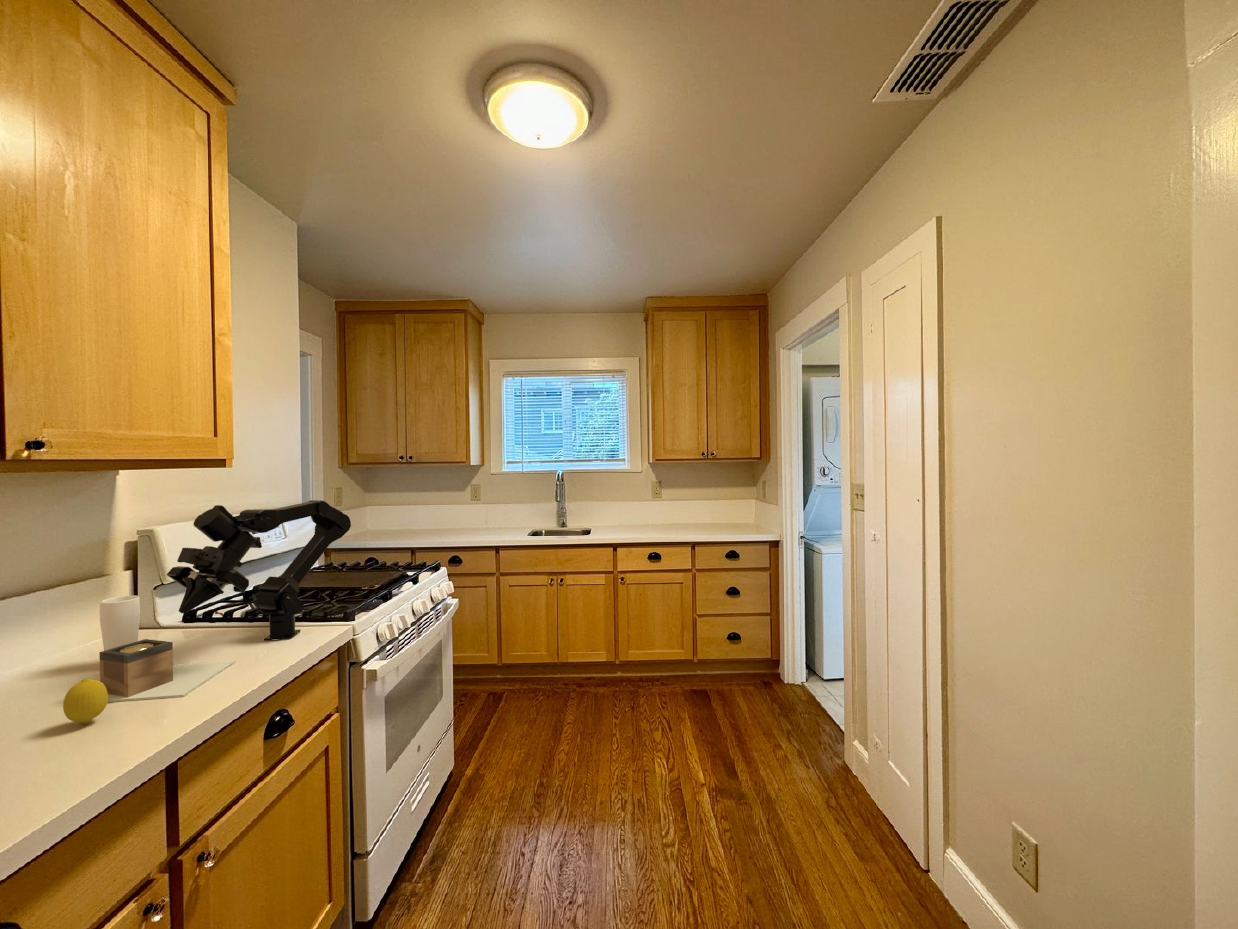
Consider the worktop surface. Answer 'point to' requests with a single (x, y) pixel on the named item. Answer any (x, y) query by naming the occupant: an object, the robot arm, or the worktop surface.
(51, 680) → the worktop surface
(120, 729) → the worktop surface
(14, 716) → the worktop surface
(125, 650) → the peg
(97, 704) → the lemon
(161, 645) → the wooden box
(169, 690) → the mat
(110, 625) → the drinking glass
